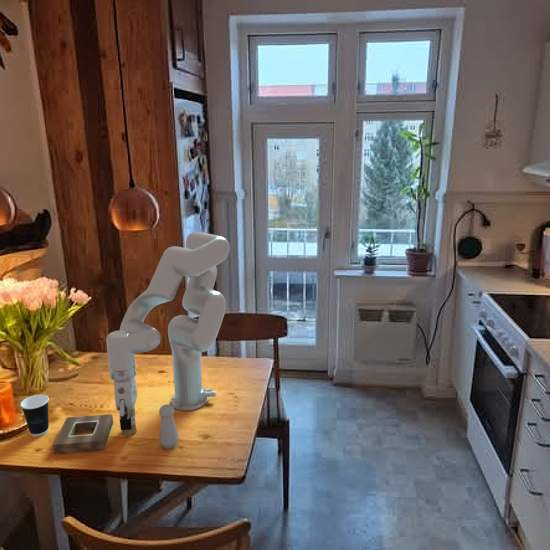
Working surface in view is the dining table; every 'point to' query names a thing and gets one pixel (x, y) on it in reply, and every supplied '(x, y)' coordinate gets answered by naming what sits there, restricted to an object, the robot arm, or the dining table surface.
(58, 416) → the dining table surface
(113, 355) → the robot arm
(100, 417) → the socket block
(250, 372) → the dining table surface
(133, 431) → the sprinkles bottle
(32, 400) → the dixie cup
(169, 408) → the salt shaker
